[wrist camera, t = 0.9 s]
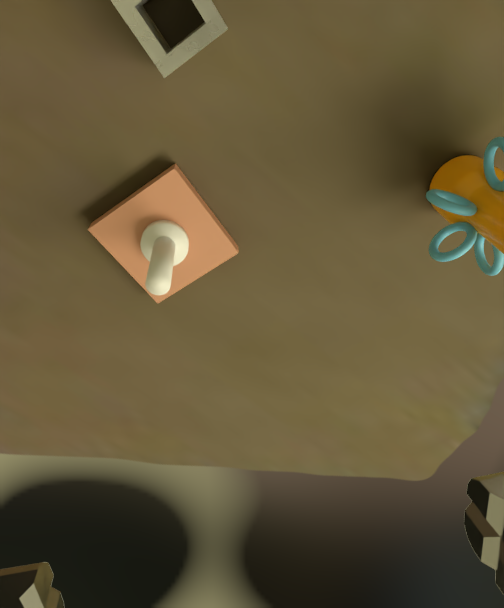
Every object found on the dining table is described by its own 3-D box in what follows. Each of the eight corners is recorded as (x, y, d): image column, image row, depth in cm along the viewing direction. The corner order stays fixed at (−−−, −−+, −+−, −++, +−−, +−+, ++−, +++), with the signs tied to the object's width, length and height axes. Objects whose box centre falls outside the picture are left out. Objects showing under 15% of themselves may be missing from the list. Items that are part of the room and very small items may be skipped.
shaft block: (175, 163, 42) (167, 201, 34) (237, 245, 47) (244, 296, 39) (91, 223, 44) (65, 272, 36) (159, 295, 49) (149, 352, 41)
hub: (181, -51, 33) (178, -57, 30) (225, 25, 36) (228, 28, 32) (121, 0, 35) (110, 0, 31) (168, 69, 38) (164, 78, 34)
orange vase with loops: (432, 259, 49) (508, 348, 37) (376, 191, 45) (442, 266, 32) (539, 179, 45) (665, 248, 33) (490, 96, 41) (616, 139, 28)
